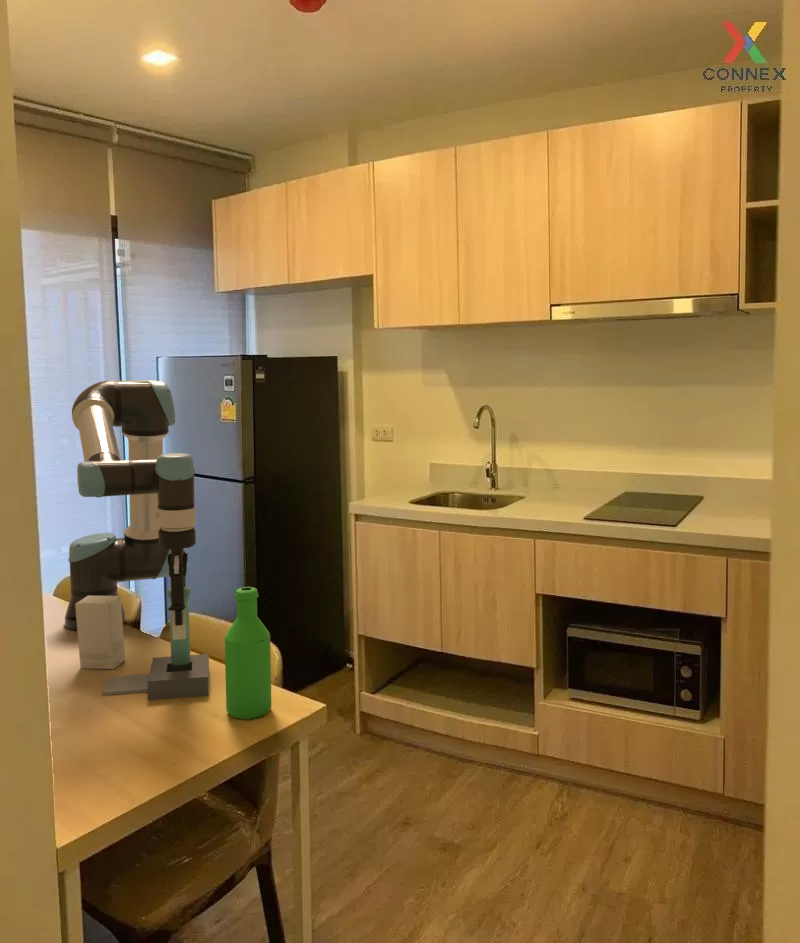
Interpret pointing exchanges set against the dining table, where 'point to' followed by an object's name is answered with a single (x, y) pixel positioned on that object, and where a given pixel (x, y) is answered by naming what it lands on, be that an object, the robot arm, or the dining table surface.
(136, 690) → the coaster
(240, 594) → the bottle
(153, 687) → the socket block
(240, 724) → the dining table surface
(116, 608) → the skincare box
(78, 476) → the robot arm
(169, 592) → the plug
